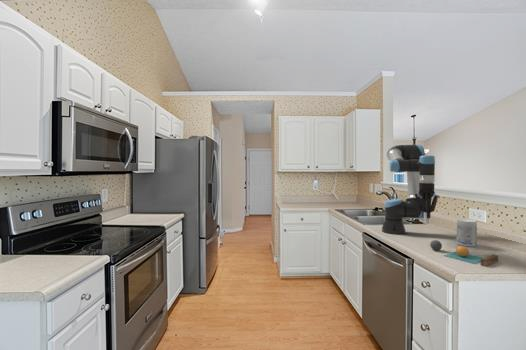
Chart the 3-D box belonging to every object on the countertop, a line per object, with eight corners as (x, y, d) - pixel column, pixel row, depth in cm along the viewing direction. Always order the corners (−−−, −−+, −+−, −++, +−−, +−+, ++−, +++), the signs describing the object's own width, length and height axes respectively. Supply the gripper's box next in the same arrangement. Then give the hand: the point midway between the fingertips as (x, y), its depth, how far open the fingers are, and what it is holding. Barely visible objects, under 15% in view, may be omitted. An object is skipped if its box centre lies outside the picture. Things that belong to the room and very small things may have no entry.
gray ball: (436, 241, 147) (438, 251, 146) (443, 239, 149) (444, 249, 149) (427, 240, 152) (428, 250, 151) (433, 239, 154) (435, 248, 154)
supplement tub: (464, 242, 166) (465, 218, 166) (480, 246, 157) (481, 221, 157) (452, 243, 164) (452, 219, 163) (467, 247, 155) (468, 222, 154)
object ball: (462, 245, 137) (467, 256, 135) (467, 244, 140) (473, 254, 138) (451, 247, 141) (456, 258, 139) (457, 246, 144) (462, 256, 142)
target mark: (443, 255, 141) (443, 255, 141) (457, 251, 148) (457, 251, 148) (475, 264, 129) (475, 263, 129) (488, 259, 135) (488, 258, 135)
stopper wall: (480, 265, 127) (480, 258, 127) (493, 260, 134) (493, 254, 133) (485, 266, 125) (485, 260, 125) (498, 261, 132) (498, 255, 132)
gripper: (411, 182, 158) (411, 222, 159) (435, 183, 147) (434, 226, 148) (419, 181, 162) (418, 220, 163) (442, 182, 151) (441, 224, 151)
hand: (426, 223), depth 155 cm, fingers closed
